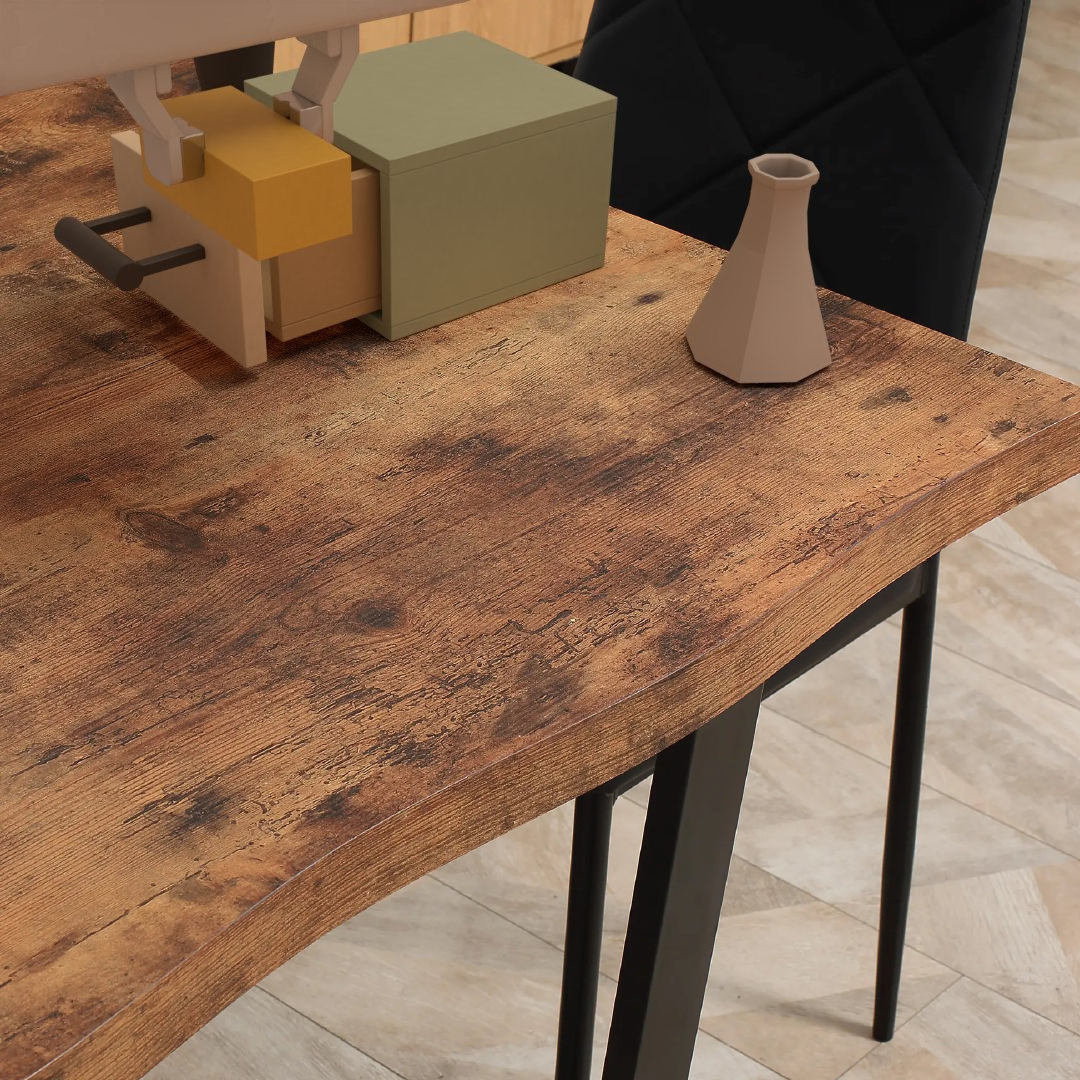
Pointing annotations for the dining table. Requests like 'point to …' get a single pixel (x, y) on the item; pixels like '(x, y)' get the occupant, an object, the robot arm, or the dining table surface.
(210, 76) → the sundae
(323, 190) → the yellow rectangular block
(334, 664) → the dining table surface
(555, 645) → the dining table surface
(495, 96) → the cabinet
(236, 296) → the drawer
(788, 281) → the flask
